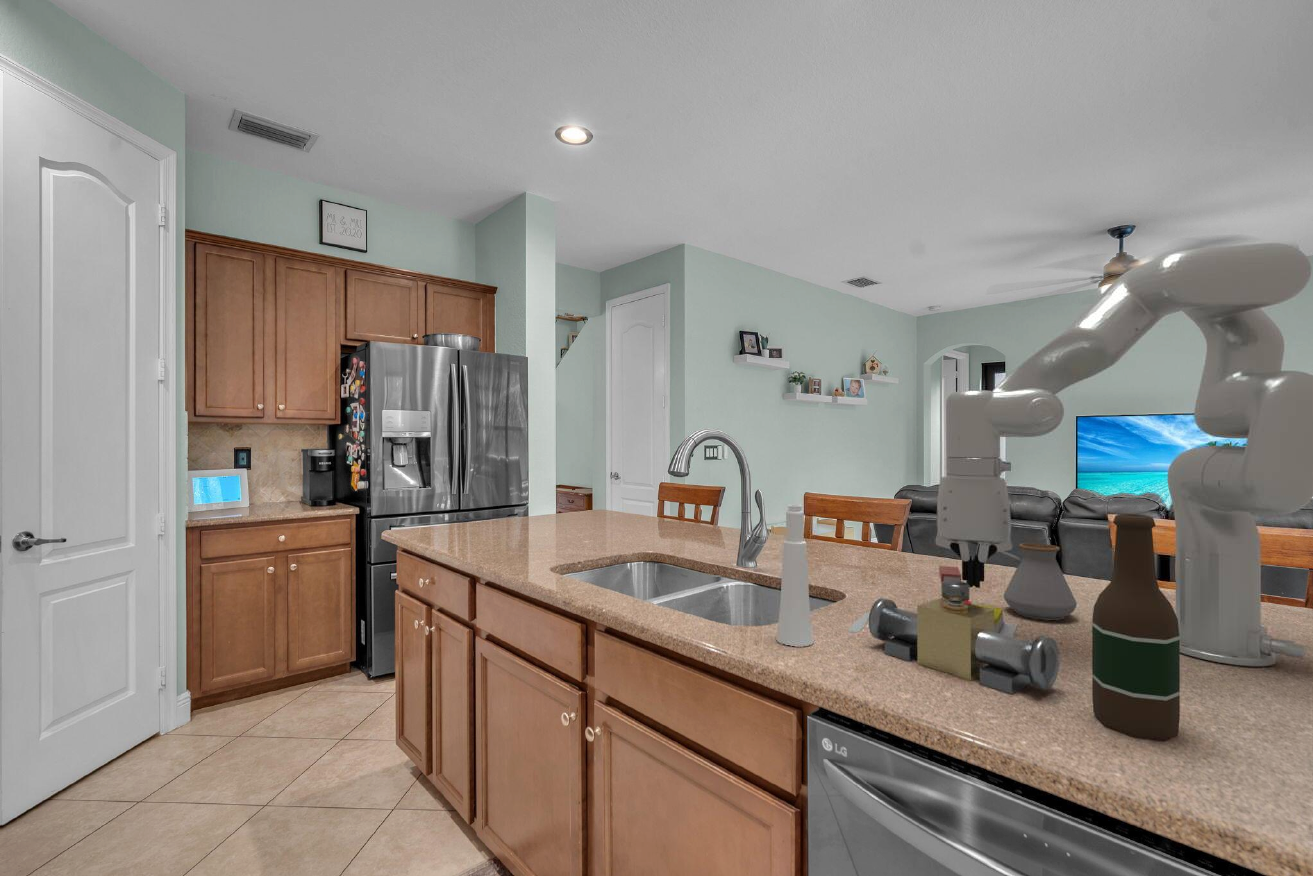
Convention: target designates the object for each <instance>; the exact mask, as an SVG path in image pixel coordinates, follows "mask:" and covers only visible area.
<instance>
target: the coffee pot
mask: <svg viewBox="0 0 1313 876" xmlns="http://www.w3.org/2000/svg"><path fill="white" fill-rule="evenodd" d="M970 543H971V544H972V545H975V546H978V542H970ZM1018 547H1020V548H1021V551H1022V557H1019V556H1016V555H1014V554H1012V553H1009V552H1007V551H1001V552H996V553H997V554H999V555H1001V556H1003V557H1006V558H1007V559H1009V560H1012V561H1014V562H1016V563H1018V565H1017V567H1016V569H1015V571H1014V573H1013V575H1012V577H1011V579H1010V582H1009V583H1008V585H1007V587H1006V589H1005V591H1004V593H1003V598H1004V601H1005V602H1006V604H1007V605H1008V606H1009V607H1010V608H1011V609H1013V610H1014V611H1016V612H1015V614H1017V613H1018V614H1017V615H1019V616H1021V615H1022V617H1025V618H1028V617H1029V619H1034V620H1039V619H1042V620H1041V621H1049V620H1056V621H1062V620H1064V619H1065V617H1067V616H1070V615H1071V614H1072V613H1073V612H1074V611H1075V610H1076V608H1077V601H1076V599H1075V596H1074V594H1073V593H1072V590H1071V588H1070V586H1069V584H1068V582H1067V579H1066V577H1065V576H1064V573H1063V572H1062V570H1061V567H1060V565H1059V563H1058V561H1057V559H1056V557H1057V553H1058V552H1059V551H1060V549H1061V548H1060V547H1059V546H1056V545H1052V544H1048V543H1047V544H1046V543H1039V542H1038V543H1037V542H1036V543H1035V542H1022V543H1019V545H1018ZM1061 619H1062V620H1061Z"/></svg>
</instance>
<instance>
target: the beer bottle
mask: <svg viewBox="0 0 1313 876" xmlns="http://www.w3.org/2000/svg"><path fill="white" fill-rule="evenodd" d="M1112 523H1113V524H1114V525H1115V527H1116V530H1115V541H1114V543H1115V544H1114V557H1113V566H1112V567H1113V568H1112V574H1111V578H1110V583H1109V584H1107V586H1105V588H1104V589H1103V590H1102V591H1101V592H1100V593H1099V595H1098V597H1097V599H1096V601H1095V603H1094V605H1093V610H1092V621H1091V626H1092V627H1091V632H1092V634H1091V635H1092V636H1091V637H1092V638H1091V641H1092V643H1091V644H1092V645H1091V648H1092V649H1091V651H1092V653H1091V658H1092V659H1091V662H1092V663H1091V666H1092V668H1091V669H1092V670H1091V671H1092V673H1091V675H1092V679H1091V681H1092V683H1091V684H1092V685H1091V686H1092V692H1091V693H1092V696H1091V697H1092V707H1093V708H1092V710H1093V714H1094V716H1095V717H1096V718H1097V719H1098V720H1099V721H1100V723H1101V724H1103V726H1104V727H1107V728H1109V729H1112V730H1114V731H1117V732H1119V733H1121V734H1124V735H1127V736H1130V737H1133V738H1140V739H1147V740H1154V741H1155V740H1156V741H1162V742H1165V741H1166V740H1169V739H1171V738H1173V737H1175V736H1177V735H1178V733H1179V730H1180V718H1181V717H1180V716H1181V715H1180V714H1181V709H1180V708H1181V706H1180V705H1181V704H1180V703H1181V697H1180V696H1181V695H1180V692H1181V691H1180V690H1181V689H1180V687H1181V685H1180V683H1181V681H1180V679H1181V678H1180V677H1181V676H1180V673H1181V672H1180V669H1181V668H1180V667H1181V666H1180V661H1181V659H1180V658H1181V657H1180V636H1179V626H1178V619H1177V616H1176V611H1175V610H1174V608H1173V606H1172V603H1171V602H1170V601H1169V600H1168V598H1167V597H1166V595H1164V593H1163V591H1161V590H1160V586H1159V583H1158V582H1159V581H1158V578H1157V571H1156V562H1155V561H1156V560H1155V550H1154V549H1155V547H1154V538H1153V537H1154V536H1153V535H1154V534H1153V528H1155V527H1156V526H1157V525H1156V523H1155V520H1154V517H1151V516H1149V515H1145V514H1139V513H1119V514H1117V515H1115V516H1114V519H1113V522H1112Z"/></svg>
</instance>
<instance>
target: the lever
mask: <svg viewBox="0 0 1313 876" xmlns="http://www.w3.org/2000/svg"><path fill="white" fill-rule="evenodd" d="M938 567H939V568H938V575H939V579H940V585H941V586H940V589H941V591H940V592H941V598H944V599H948V600H954V601H967V600H968V601H970V587H969V584H967V583H966V582H965V581H962V573H961V572H960V568H959V567H958V566H949V565H948V566H947V565H946V566H945V565H939V566H938Z"/></svg>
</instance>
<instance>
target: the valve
mask: <svg viewBox="0 0 1313 876" xmlns="http://www.w3.org/2000/svg"><path fill="white" fill-rule="evenodd" d="M936 599H937V600H934V599H933V600H931V601H928V602H924V603H921V604H918V605H917V612H914V611H909V610H906V609H902V608H898V606H897V604H896V603H895V601H893V600H891V599H887V598H883V597H882V598H881V597H880V598H878V599H877V600H875V601H874V603H873V605H872V607H871V608H870V611H869V613H870V614H869V616H868V629H869V633H870V634H871V636H872V637H873V638H874V639H876V640H880V641H883V642H884V654H885V655H887V654H888V656H892V657H894V656H895V657H894V658H897V659H900V658H901V660H903V661H908V662H912V661H914V660H916V659H917V665H919V666H922V667H927V668H929V669H933V670H936V671H938V670H939V671H938V672H941V673H945V674H948V675H951V676H954V677H958V678H960V679H963V680H967V681H970V682H971V681H974V680H975V679H978V678H979V685H983V686H985V687H988V688H991V689H994V690H998V691H1001V692H1003V693H1007V694H1009V695H1014V694H1015V693H1017V692H1018V691H1020V690H1022V689H1024V688H1025V687H1027V686H1029V685H1031V684H1032V685H1033V686H1034V687H1036V688H1039V689H1043V690H1046V691H1048V690H1050V689H1051V688H1052V687H1053V686H1054V684H1055V682H1056V680H1057V678H1058V674H1059V667H1060V650H1059V646H1058V643H1057V641H1056V640H1055V639H1054V638H1053V637H1047V636H1043V635H1039V636H1037V637H1035V639H1034V641H1031V640H1027V639H1023V638H1019V637H1015V636H1013V637H1011V636H1007V635H1003V634H999V633H995V632H994V609H990V608H985V607H981V606H976V605H972V604H973V603H972V604H967V603H963V601H954V600H948V599H945V598H943V597H940V598H936Z"/></svg>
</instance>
